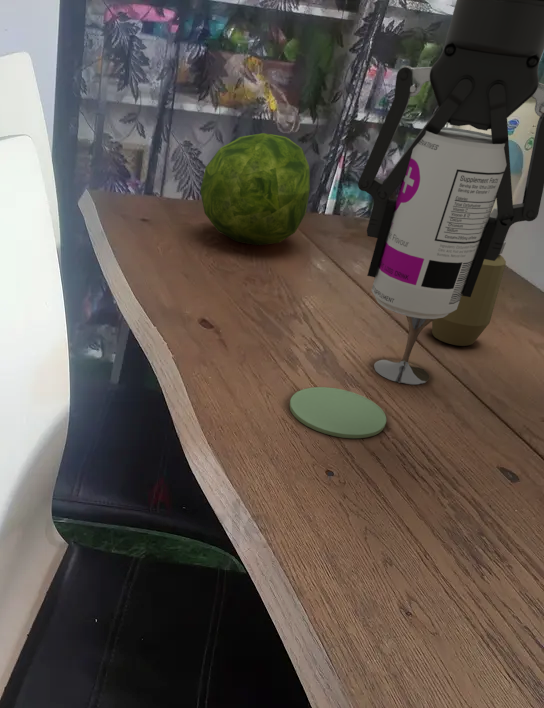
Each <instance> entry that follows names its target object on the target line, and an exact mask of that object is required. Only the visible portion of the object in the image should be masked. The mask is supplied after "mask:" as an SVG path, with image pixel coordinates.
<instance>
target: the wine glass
mask: <svg viewBox="0 0 544 708" xmlns="http://www.w3.org/2000/svg"><path fill="white" fill-rule="evenodd" d="M405 317H406V320H407V323H408V335H407V341H406V344H405V345H406V346H405V348H404V352H403V355H402V358H401V359H395V358H385V359H380V360H377V361H375V363H374V364H373V369H374V371H375V372H376V373H377V374H379V375H380V376H382V377H383V378H385V379H387V380H389V381H393V382H395V383H399V384H404V385H421V384H422V385H423V384H425V383H428V381H429V380H430V374H429V373H428V371H426V369H424V368H423V367H421V366H419V365H417V364H415V363H412V362H410V361H409V360H410V357H411V353H412V350H413V348H414V346H415V343H416V341H417V339H418V337H419V335H420V333H422V331H423V329H424V328H425V327H427V326H428V325H429V324H431V323H432V321H433V320H435V319H422V318H415V317H409V316H406V315H405Z"/></svg>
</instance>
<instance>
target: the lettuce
mask: <svg viewBox="0 0 544 708" xmlns="http://www.w3.org/2000/svg"><path fill="white" fill-rule="evenodd" d="M214 154H215V155H213V157H212V158H211V159H210V161H209V162H208V163H207V164H206V166H205V169H204V173H203V176H202V181H201V185H200V191H199V192H200V197H201V201H202V206H203V211H204V214H205V216H206V218H208V220H209V221H210V223H211V224H212V225H213V226H214V228H215V229H216V231H217V232H219V233H220V234H223V235H224V236H225V237H228V238H229V239H230V240H233V241H235V242H236V243H242V244H247V245H248V244H249V245H254V246H266V245H272V244H279V243H281V242H282V241H285V240H286V239H287V238H289V237H291V236H293V235H294V234H295V233H296V232H297V230H298V228H300V227H299V226H300V224H301V223H302V221H303V219H304V217H305V216H306V214H307V210H308V209H307V208H308V205H309V204H308V203H309V197H310V191H311V181H310V180H311V178H310V177H311V176H310V175H311V174H310V172H311V171H310V165H309V162H308V160H307V157H306V153H305V152H304V148H302V147H301V146H300V145H298V144H297V143H295V142H294V141H293V140H291V139H290V138H288V137H287V136H284V135H278V134H271V133H265V132H262V133H256V134H250V135H244V136H239V137H237V138H236V139H234V140H232V141H230V142H228V143H227V144H225V145H224V146H221V147H220V148H219V149H218V150H217V151H216V153H214Z"/></svg>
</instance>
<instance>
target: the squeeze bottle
mask: <svg viewBox="0 0 544 708" xmlns="http://www.w3.org/2000/svg"><path fill="white" fill-rule="evenodd" d="M497 214H498V212H497V207H493V208H492V211H491V214H490V217H492V218H496V217H497ZM506 244H507V240H506V239H505V241H504V243H503V246H502V249H501V251H500V254H499V256H498V257H497V259H496V260H495V261H492V260H487V259H484V261H483V264H482V267H481V270H480V272H479V275H478V278H477V281H476V283H475V286H474V289H473V292H472V294H471V297H467V296H461V299H460V301H459V304H458V307H457V310H455V311H453V312H451V313H449V314H448V315H447V316H445V317H443V318H437V319H435V320H433V321H432V322H431V325H432V326H431V334H432V336H433V337H434V338H435V339H437V340H438V341H441V342H443V343H446V344H449V345H453V346H459V347H460V346H461V347H465V346H466V347H467V346H471V345H473V344H474V343H475V342H476V341H477V339H479V337H480V336H481V334H482V333H483V332H484V331H485V329H486V328H487V327H488V326H489V324H490V323H491V320H492V316H493V312H494V309H495V305H496V301H497V297H498V294H499V290H500V287H501V283H502V279H503V275H504V272H505V269H506V265H507V261H506V259H505V257H504V256H503V255H501V254H503V252H504V250H505V247H506Z"/></svg>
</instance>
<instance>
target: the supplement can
mask: <svg viewBox="0 0 544 708" xmlns="http://www.w3.org/2000/svg"><path fill="white" fill-rule="evenodd" d="M504 146H505V144H492V135H491V134H489V133H485V132H481V131H475V130H469V129H463V128H457V127H447V126H444V127H443V128H442V129H441V131H440V132H439V133H438V134H437V135H436V134H433V133H431V132H428V131H426V134H425V136H424V137H423V138H422V139H421V140H420V141H419V143H418V144H417V145H416V146H415V147H414V148H413V151H412V155H411V158H410V162H409V165H408V169H407V172H406V176H405V178H404V179H403V180H402V182H401V183H400V187H399V189H398V193H397V197H396V199H395V200H396V204H395V208H394V212H393V216H392V219H391V223H390V226H389V230H388V233H387V237H386V241H385V244H384V248H383V251H382V255H381V259H380V262H379V266H378V269H377V273H376V276H375V277H374V280H373V283H372V286H371V289H370V290H371V291H370V292H372V294H373V296H374V297H375V300H376V302H377V303H378V305H380V306H381V307H383V308H384V309H386V310H389V311H391V312H393V313H396V314H399V315H402V316H405V317H406V316H409V317H415V318H422V319H437V318H443V317H445V316H447V315H448V314H449V313H451V312H453V311H455V310H457V307H458V304H459V301H460V299H461V296H462V293H463V290H464V287H465V285H466V282H467V279H468V276H469V273H470V270H471V268H472V265H473V262H474V259H475V256H476V254H477V251H478V248H479V245H480V242H481V239H482V237H483V234H484V231H485V228H486V225H487V223H488V220H489V217H490V214H491V213H492V211H493V209H494V205H495V202H496V201H497V199H496V197H497V195H496V193H497V191H498V188H499V185H500V182H501V179H502V176H503V174H504V171H505V168H506V165H507V164H506V158H505V152H504Z"/></svg>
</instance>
